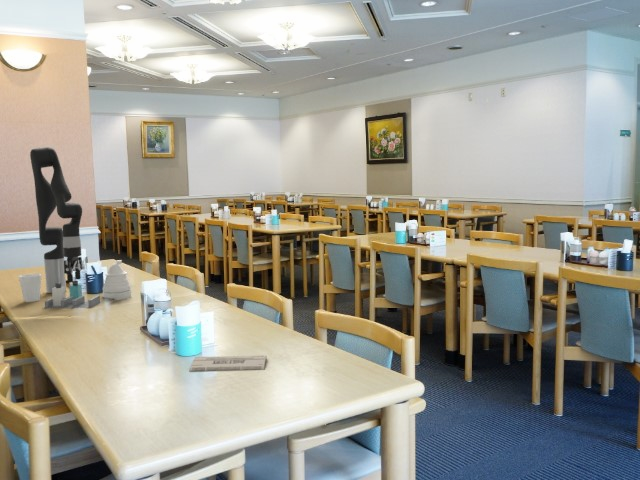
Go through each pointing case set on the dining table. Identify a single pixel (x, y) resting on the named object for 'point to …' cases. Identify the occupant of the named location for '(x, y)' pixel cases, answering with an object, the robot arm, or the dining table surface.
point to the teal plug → (75, 290)
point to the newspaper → (228, 363)
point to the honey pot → (116, 283)
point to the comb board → (74, 302)
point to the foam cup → (30, 286)
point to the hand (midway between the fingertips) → (74, 280)
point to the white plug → (58, 294)
